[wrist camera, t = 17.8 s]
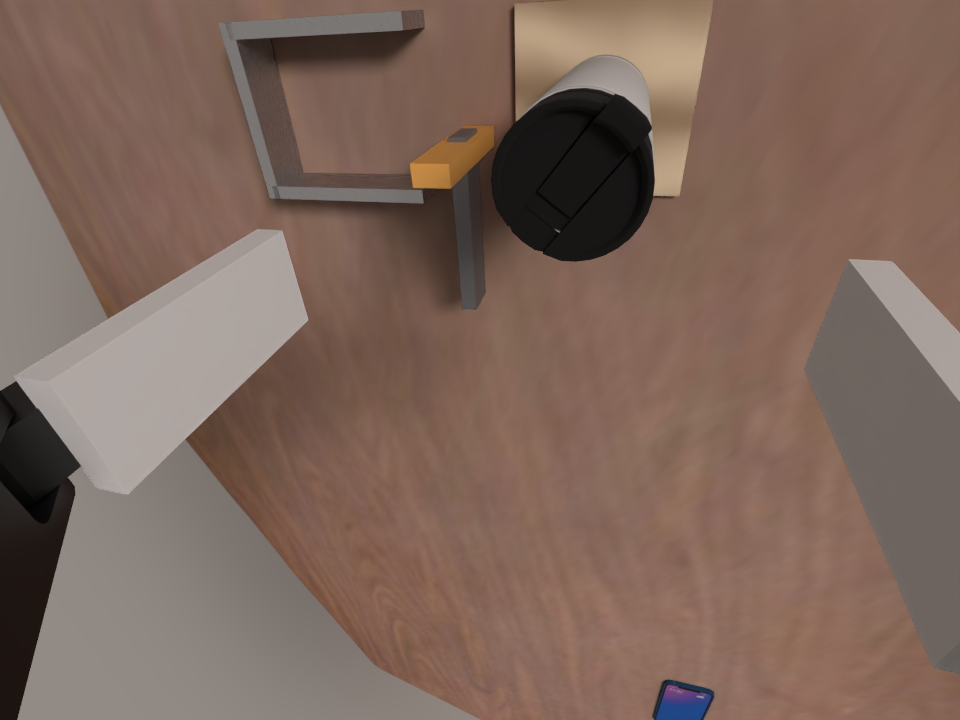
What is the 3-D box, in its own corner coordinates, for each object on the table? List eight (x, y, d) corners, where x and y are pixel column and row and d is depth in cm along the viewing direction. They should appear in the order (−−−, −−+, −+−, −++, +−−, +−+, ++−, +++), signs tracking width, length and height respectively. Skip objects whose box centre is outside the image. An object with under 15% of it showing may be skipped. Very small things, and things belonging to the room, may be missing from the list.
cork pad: (516, 3, 33) (514, 3, 32) (714, -10, 30) (715, -10, 29) (518, 189, 39) (516, 192, 39) (678, 193, 37) (679, 196, 36)
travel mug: (674, 92, 33) (705, 171, 17) (603, 174, 36) (575, 300, 21) (601, 26, 32) (562, 44, 16) (537, 117, 35) (454, 205, 20)
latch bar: (462, 121, 38) (409, 158, 29) (493, 121, 37) (448, 158, 28) (473, 278, 45) (433, 344, 36) (499, 280, 44) (464, 347, 36)
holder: (254, 21, 37) (218, 23, 34) (423, 9, 34) (400, 11, 31) (296, 184, 44) (270, 198, 41) (440, 187, 41) (423, 203, 38)
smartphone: (652, 720, 85) (664, 682, 76) (652, 714, 85) (664, 676, 77) (698, 732, 83) (716, 694, 74) (697, 726, 84) (715, 688, 75)
